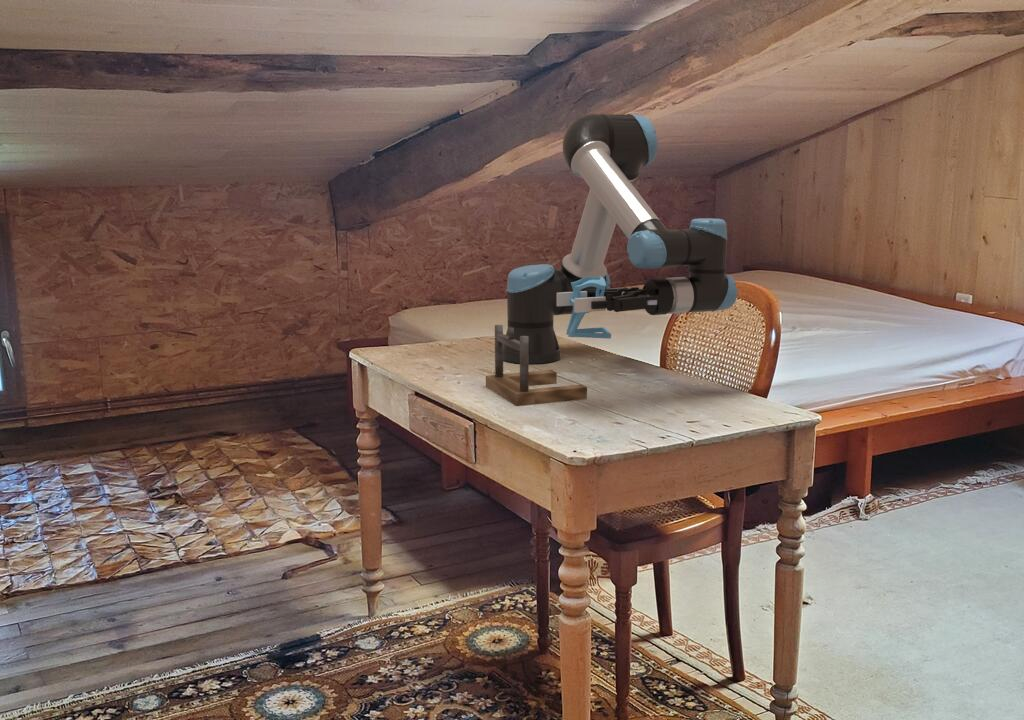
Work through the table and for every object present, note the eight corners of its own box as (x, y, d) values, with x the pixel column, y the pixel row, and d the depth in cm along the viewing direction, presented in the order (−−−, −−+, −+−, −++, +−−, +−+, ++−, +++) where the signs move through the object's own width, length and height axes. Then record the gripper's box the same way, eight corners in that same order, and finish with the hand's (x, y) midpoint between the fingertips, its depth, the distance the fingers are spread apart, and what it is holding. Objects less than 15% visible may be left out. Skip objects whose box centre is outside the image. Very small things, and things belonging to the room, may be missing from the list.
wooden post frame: (551, 380, 228) (551, 317, 225) (586, 398, 210) (587, 330, 207) (485, 386, 222) (485, 322, 219) (516, 405, 205) (516, 336, 202)
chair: (564, 332, 204) (564, 274, 202) (604, 331, 205) (605, 273, 202) (570, 339, 197) (570, 279, 194) (611, 338, 197) (612, 278, 195)
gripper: (691, 321, 197) (588, 329, 189) (641, 307, 216) (545, 313, 208) (693, 284, 196) (588, 290, 188) (642, 272, 214) (545, 277, 206)
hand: (566, 302), depth 198 cm, fingers closed on chair, 8 cm apart
